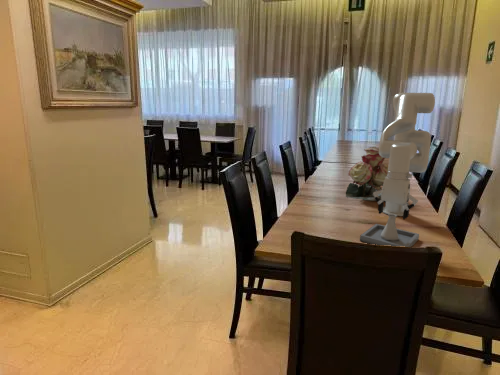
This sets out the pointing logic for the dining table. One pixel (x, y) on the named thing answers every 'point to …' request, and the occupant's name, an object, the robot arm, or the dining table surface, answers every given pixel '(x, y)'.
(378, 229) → the serving tray
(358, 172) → the rose bouquet
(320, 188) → the dining table surface
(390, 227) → the flask
